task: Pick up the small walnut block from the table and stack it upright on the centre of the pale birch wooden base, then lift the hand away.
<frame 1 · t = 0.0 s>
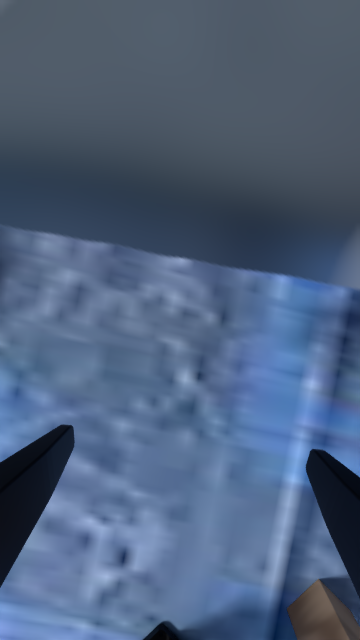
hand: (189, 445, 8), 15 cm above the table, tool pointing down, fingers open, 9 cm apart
walnut block: (318, 609, 23), on the table
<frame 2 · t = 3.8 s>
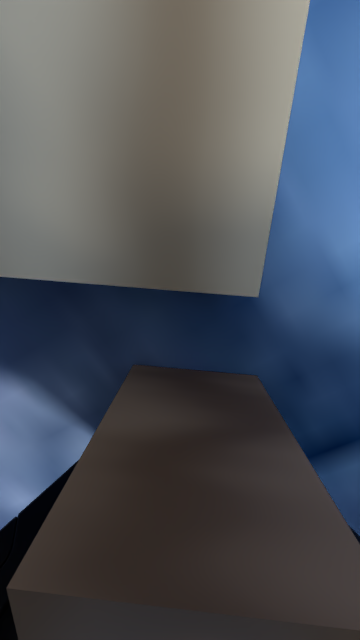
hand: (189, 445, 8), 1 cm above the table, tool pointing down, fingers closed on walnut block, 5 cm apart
walnut block: (189, 421, 9), on the table, touching gripper
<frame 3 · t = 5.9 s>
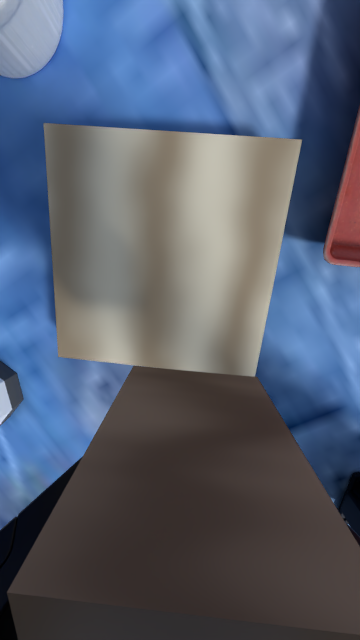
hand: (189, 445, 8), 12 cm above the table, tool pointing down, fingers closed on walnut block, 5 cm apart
walnut block: (189, 422, 9), point 10 cm above the table, touching gripper
ramekin: (13, 14, 14), on the table
birch base: (166, 265, 17), on the table
when the fingers open (5 cm above the table, at t = 8.2 s): walnut block drops 1 cm, resting on birch base.
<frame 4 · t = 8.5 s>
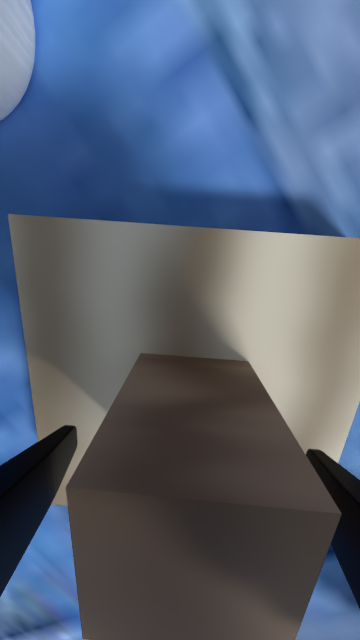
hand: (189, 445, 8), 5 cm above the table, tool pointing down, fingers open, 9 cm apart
walnut block: (190, 403, 10), point 3 cm above the table, touching birch base
birch base: (189, 371, 13), on the table
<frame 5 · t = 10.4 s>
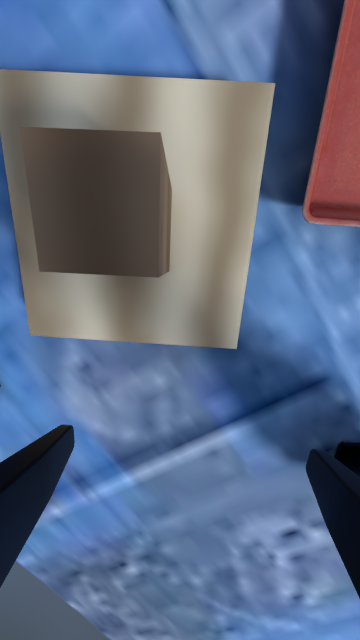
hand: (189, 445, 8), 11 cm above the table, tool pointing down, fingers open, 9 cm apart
walnut block: (133, 231, 14), point 3 cm above the table, touching birch base
birch base: (141, 235, 17), on the table
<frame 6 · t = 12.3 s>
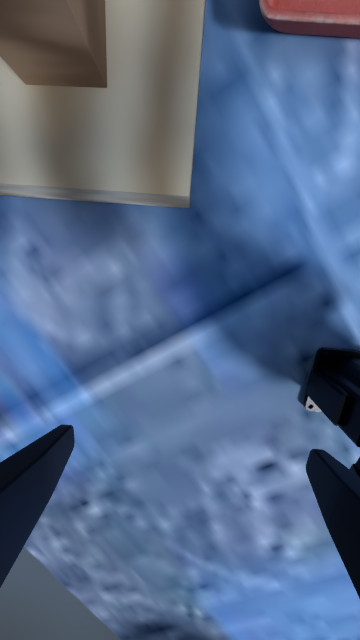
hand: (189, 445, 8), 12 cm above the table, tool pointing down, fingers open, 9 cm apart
walnut block: (62, 31, 12), point 3 cm above the table, touching birch base
birch base: (87, 76, 15), on the table
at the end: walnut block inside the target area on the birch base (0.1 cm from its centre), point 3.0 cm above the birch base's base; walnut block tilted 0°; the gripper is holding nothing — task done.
